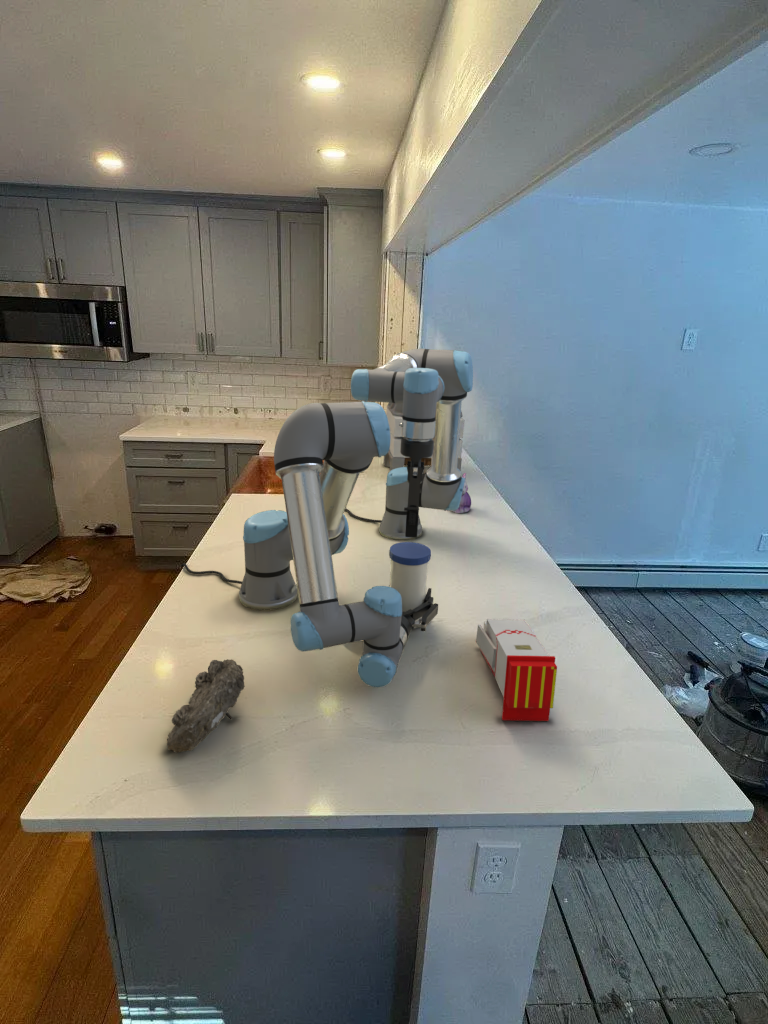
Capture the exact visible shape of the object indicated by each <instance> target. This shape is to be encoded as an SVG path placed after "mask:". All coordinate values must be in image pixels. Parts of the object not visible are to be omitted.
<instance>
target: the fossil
mask: <svg viewBox="0 0 768 1024" xmlns="http://www.w3.org/2000/svg"><path fill="white" fill-rule="evenodd" d="M243 670H244V669H243V667H242V665H240V664H237V662H236V661H235V660H234V659H232V658H231V659H227V658H226V659H224V660H223V661H222V660H217V659H212V660H211V661H210V663H209V665H208V666H207V671H201V672H199V673H198V674H197V675H196V676H195V680H194V684H195V685H194V687H195V689H194V690H193V693H192V694H191V697H190V698H189V700H188V704H184V705H182V706H181V707H180V709H177V710H176V711H175V713H174V715H173V716H172V718H171V723H172V724H173V727H172V730H171V731H170V732H168V734H167V738H166V741H167V742H166V745H167V749H168V750H169V751H173V752H174V753H176V754H178V753H182V752H188V751H189V752H192V751H193V750H195V748H196V747H197V746H199V744H200V743H201V742H203V741H204V740H205V739H206V738H207V737H208V736H209V735H210V734H211V733H212V732H214V730H215V729H217V727H218V726H219V724H220V722H221V721H222V720H223V719H224V718H225V716H226V717H227V719H229V720H233V717H232V715H230V714H229V710H230V709H231V708H234V706H235V704H236V703H237V702H238V699H239V697H240V695H241V693H242V691H243V690H245V689H244V688H245V675H244V671H243Z"/></svg>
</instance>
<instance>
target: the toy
mask: <svg viewBox="0 0 768 1024" xmlns="http://www.w3.org/2000/svg"><path fill="white" fill-rule="evenodd" d="M476 629H477V631H476V638H475V642H476V645H477V646H478V648H479V650H480V652H481V654H482V656H483V658H484V660H485V661H486V664H487V666H488V668H489V669H490V671H491V672H492V675H493V676H494V679H495V681H496V685H497V686H498V688H499V690H500V692H501V695H502V697H503V701H502V712H501V720H502V721H521V722H523V721H526V722H528V721H529V722H550V712H551V709H554V702H555V692H556V681H557V673H558V665H557V664H556V656H555V655H550V654H549V652H548V651H547V650H546V648H545V647H544V645H543V644H542V642H541V641H540V639H539V638H538V637H537V635H536V634H535V632H534V631H533V629H532V627H531V625H530V624H528V623H527V621H526V619H521V618H518V619H515V618H513V619H512V618H486V620H484V621H483V626H482V625H481V624H477V628H476Z"/></svg>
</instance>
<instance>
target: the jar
mask: <svg viewBox="0 0 768 1024" xmlns="http://www.w3.org/2000/svg"><path fill="white" fill-rule="evenodd" d="M389 570H390V571H389V585H390V586H389V585H388V587H391V588H394V589H396V590H397V591H398V592H399V593H400V595H401V598H402V611H404V612H406V611H408V610H409V609H411V610H413V609H414V608H416V607H418V606H420V605H422V604H423V603H424V599H425V597H426V594H427V587H428V575H429V562H427V563H425V564H422V565H403V564H399V563H396V562H394V561H393V560H391V559H390V569H389ZM421 618H422V617H421ZM418 620H419V619H417V620H415V622H417V621H418ZM414 629H417V628H416V627H414Z"/></svg>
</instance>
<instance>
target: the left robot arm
mask: <svg viewBox="0 0 768 1024" xmlns="http://www.w3.org/2000/svg"><path fill="white" fill-rule="evenodd" d="M389 448H390V428H389V422H388V418H387V415H386V411H385V409H384V407H383V406H382V405H381V404H379V402H373V401H367V402H365V401H362V400H360V401H347V402H346V401H345V402H343V401H342V402H323V403H322V402H313V403H312V402H311V403H307V404H304V405H302V406H300V407H298V408H297V409H295V410H294V411H293V412H292V413H290V415H289V416H288V417H287V418H286V419H285V421H284V422H283V424H282V426H281V428H280V430H279V432H278V435H277V437H276V440H275V443H274V449H273V464H274V465H273V466H274V471H275V472H274V473H275V476H277V477H278V478H279V479H280V480H281V484H282V491H283V499H284V504H285V506H284V507H285V510H280V509H278V510H276V509H268V510H264V511H260V512H256V513H254V514H252V515H251V516H250V517H248V518H247V519H246V520H245V522H244V524H243V536H242V540H243V546H244V547H243V548H244V549H243V550H244V575H243V578H242V580H237V579H236V580H235V579H228V578H226V577H225V576H224V574H223V573H222V572H220V571H217V570H202V571H196V570H195V571H193V570H191V569H190V568H189V567H188V565H187V563H186V562H183V563H181V565H180V567H182V568H183V567H184V568H185V570H186V571H187V573H189V574H191V575H192V574H193V575H205V574H206V575H207V574H216V575H218V576H220V578H221V579H222V580H223V581H225V582H226V583H230V584H238V585H241V586H240V588H239V592H238V597H239V602H240V603H241V604H242V605H243V606H244V607H246V608H248V609H251V610H255V611H276V610H281V609H283V608H286V607H288V606H291V605H292V604H293V603H295V602H296V600H297V598H298V603H299V609H300V610H299V611H297V612H294V613H293V614H291V617H290V633H291V639H292V642H293V645H294V647H295V648H296V649H297V650H298V651H300V652H308V651H309V652H310V651H317V650H319V651H320V650H323V649H327V648H331V647H336V646H340V645H346V644H350V643H357V642H361V641H362V654H361V656H360V658H359V660H358V665H357V675H358V677H359V678H360V680H361V681H362V682H363V684H365V685H367V686H369V687H373V688H377V689H378V688H384V687H386V686H388V685H389V684H391V682H392V681H393V678H394V677H395V675H396V674H397V669H398V666H399V664H400V661H401V658H402V655H403V653H404V649H405V647H406V645H407V642H408V639H409V637H410V634H411V633H412V630H414V629H417V628H419V629H420V631H421V632H426V630H427V626H428V625H429V624H430V623H431V622H432V621H433V620H434V619H435V618H436V616H437V615H438V613H439V603H434V596H432V590H433V589H432V587H428V589H427V590H426V597H425V599H424V603H423V604H422V605H420V606H418V607H416V608H414V609H413V610H411V609H409V610H408V611H406V612H404V611H402V598H401V595H400V593H399V592H398V591H397V590H396V589H394V588H391V587H389V586H390V584H389V585H388V586H387V585H374V586H372V587H371V588H368V589H367V590H366V591H365V593H364V597H363V600H362V601H357V602H350V603H346V604H340V603H339V594H338V589H337V581H336V575H335V569H334V563H333V562H334V561H333V556H334V555H337V554H341V553H342V552H343V551H344V550H345V549H346V548H347V545H348V543H349V535H350V528H349V522H348V519H347V518H346V515H345V514H344V513H345V512H346V511H345V508H346V509H347V506H348V503H349V501H350V499H351V496H352V494H353V491H354V488H355V486H356V483H357V481H358V478H359V476H360V474H361V473H363V472H365V471H366V470H368V469H369V467H371V464H372V462H373V459H374V458H382V457H384V456H385V455H386V454H387V453H388V451H389ZM291 561H293V567H294V574H295V579H294V577H293V574H292V572H291ZM421 617H422V618H421ZM417 619H419V620H418V621H417V622H415V620H417ZM414 627H416V628H414Z"/></svg>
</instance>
